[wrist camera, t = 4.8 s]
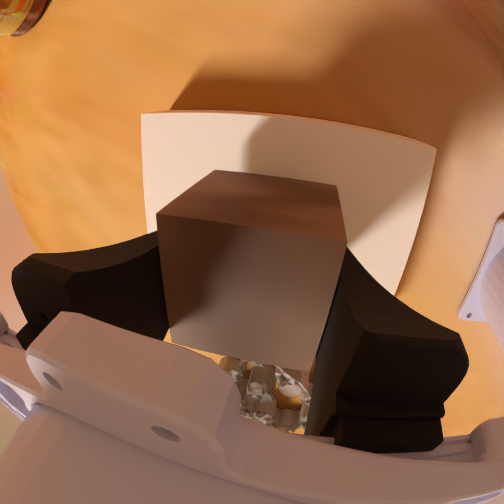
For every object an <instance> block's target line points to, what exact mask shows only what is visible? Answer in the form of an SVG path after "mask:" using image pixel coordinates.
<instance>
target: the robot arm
mask: <svg viewBox="0 0 504 504" xmlns="http://www.w3.org/2000/svg"><path fill="white" fill-rule="evenodd" d="M11 280H12V286H13V289H14V292H15V295H16V298H17V300H18V302H19V304H20V306H21V309H22V311H23V313H24V315H25V318H26V320H27V322H28V323H27V324H26V325H25V326H24V327H23V328H22V329H21V330H20V331H19V332H18V333H16V332H15V331H13V330H11V329H10V328H9V327H8V324H7V321H6V320H5V318H4V316H3V314H2V313H1V312H0V401H1V402H2V403H3V404H4V405H5V406H6V407H7V408H9V409H10V410H11V411H12V412H13V413H14V414H15V415H16V416H18V417H19V418H20V419H21V420H22V421H23V422H22V424H21V425H20V427H19V428H18V430H17V431H16V433H15V434H14V436H13V437H12V439H11V441H10V442H9V444H8V445H7V447H6V449H5V450H4V451H3V453H2V455H1V456H0V504H484V503H486V502H488V501H490V500H492V499H494V498H496V497H498V496H499V495H501V494H503V493H504V417H500V418H494V419H489V420H486V421H484V422H483V423H481V424H480V425H478V426H477V427H476V428H475V429H474V430H473V431H472V432H471V434H468V435H460V436H452V437H443V433H442V426H441V420H440V418H443V416H444V415H445V409H444V404H443V403H444V402H445V401H446V400H447V399H448V397H449V396H450V395H451V394H452V393H453V392H454V390H455V389H456V388H457V387H458V385H459V384H460V383H461V381H462V380H463V378H464V377H465V375H466V373H467V370H468V367H469V359H468V355H467V352H466V350H465V347H464V344H463V342H462V339H461V337H460V335H459V333H457V332H455V331H452V330H450V329H448V328H446V327H444V326H442V325H439V324H437V323H435V322H433V321H431V320H430V319H428V318H426V317H424V316H423V315H421V314H419V313H418V312H416V311H414V310H413V309H411V308H410V307H408V306H407V305H406V304H404V303H403V302H401V301H400V300H398V299H397V298H396V297H395V296H393V295H392V294H391V293H390V292H389V291H387V290H386V289H385V288H384V287H383V286H382V285H381V284H379V283H378V282H377V281H376V280H375V279H374V278H373V276H372V275H371V274H370V273H369V272H368V271H367V270H366V269H365V268H364V267H363V266H362V264H361V263H360V262H359V261H358V260H357V258H356V257H355V256H354V255H353V253H352V252H351V251H350V250H349V248H348V247H347V246H346V250H345V254H344V258H343V262H342V266H341V270H340V274H339V278H338V282H337V285H336V289H335V293H334V296H333V300H332V303H331V307H330V310H329V314H328V317H327V320H326V324H325V327H324V330H323V333H322V337H321V340H320V343H319V346H318V349H317V352H316V363H315V371H314V379H313V386H312V393H311V399H310V405H309V411H308V417H307V422H306V427H305V432H304V435H303V434H295V433H290V432H287V431H283V430H280V429H277V428H274V427H271V426H268V425H265V424H263V423H260V422H257V421H254V420H251V419H249V418H246V417H243V416H241V414H240V404H241V395H240V393H239V390H238V388H237V385H236V383H235V380H234V378H233V377H232V376H231V375H230V374H228V373H227V372H226V371H225V370H224V369H222V368H221V367H220V366H219V365H218V364H216V363H215V362H214V361H213V360H212V359H211V358H208V357H206V356H203V355H201V354H199V353H196V352H194V351H192V350H189V349H187V348H185V347H182V346H178V345H175V344H171V343H168V342H164V341H163V340H164V338H165V336H166V333H167V331H168V329H169V322H168V315H167V309H166V302H165V295H164V288H163V280H162V272H161V263H160V254H159V244H158V234H157V231H154V232H151V233H149V234H146V235H143V236H140V237H138V238H135V239H132V240H128V241H125V242H122V243H118V244H114V245H110V246H105V247H100V248H95V249H90V250H84V251H76V252H66V253H34V254H32V255H30V256H29V257H27V258H26V259H25V260H23V261H22V262H21V263H20V264H18V265H17V266H16V267H15V268H14V269H13V271H12V279H11ZM468 313H469V314H468ZM458 317H459V318H460V319H461V320H471V321H481V322H488V324H489V326H490V328H491V330H492V332H493V334H494V336H495V338H496V340H497V342H498V345H499V347H500V349H501V351H502V353H503V355H504V219H499V220H498V221H497V223H496V225H495V228H494V231H493V233H492V236H491V239H490V242H489V244H488V247H487V250H486V252H485V255H484V257H483V260H482V262H481V264H480V267H479V269H478V271H477V274H476V276H475V278H474V280H473V282H472V285H471V287H470V289H469V291H468V293H467V295H466V297H465V299H464V301H463V303H462V305H461V307H460V309H459V311H458Z"/></svg>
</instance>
